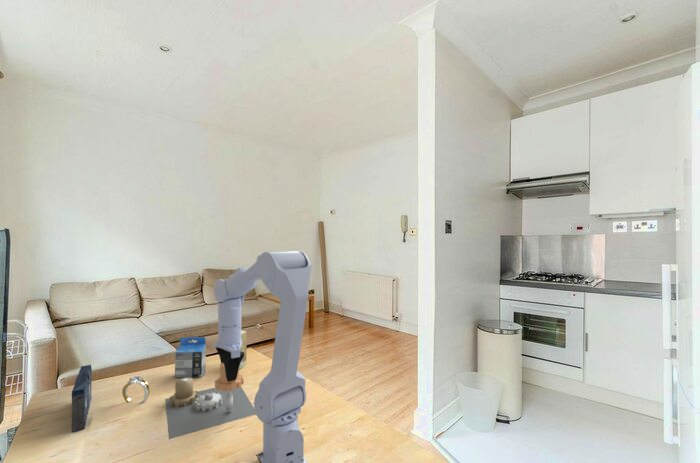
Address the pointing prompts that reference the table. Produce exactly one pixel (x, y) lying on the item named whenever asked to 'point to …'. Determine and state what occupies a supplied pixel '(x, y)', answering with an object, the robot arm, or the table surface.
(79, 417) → the vhs cassette tape
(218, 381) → the planet gear
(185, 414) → the carrier board
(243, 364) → the skincare box
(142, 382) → the ring
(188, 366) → the label tape box
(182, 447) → the table surface
